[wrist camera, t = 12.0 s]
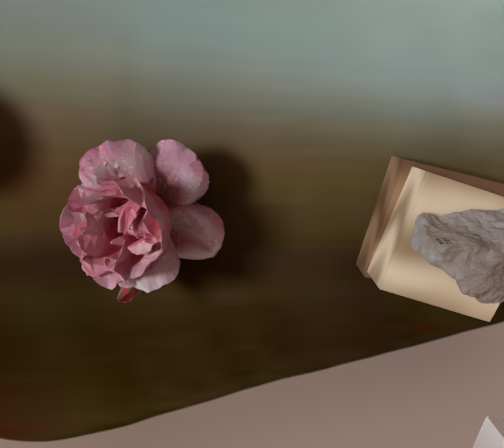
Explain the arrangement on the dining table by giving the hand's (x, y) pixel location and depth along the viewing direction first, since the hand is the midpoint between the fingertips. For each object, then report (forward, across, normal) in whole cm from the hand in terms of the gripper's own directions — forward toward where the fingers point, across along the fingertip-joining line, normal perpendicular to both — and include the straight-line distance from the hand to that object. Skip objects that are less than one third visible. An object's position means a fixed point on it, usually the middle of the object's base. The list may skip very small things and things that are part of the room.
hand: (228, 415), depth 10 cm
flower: (+32, -9, -4) cm, 33 cm away
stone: (+24, +19, 0) cm, 31 cm away
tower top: (+28, +20, 0) cm, 34 cm away
